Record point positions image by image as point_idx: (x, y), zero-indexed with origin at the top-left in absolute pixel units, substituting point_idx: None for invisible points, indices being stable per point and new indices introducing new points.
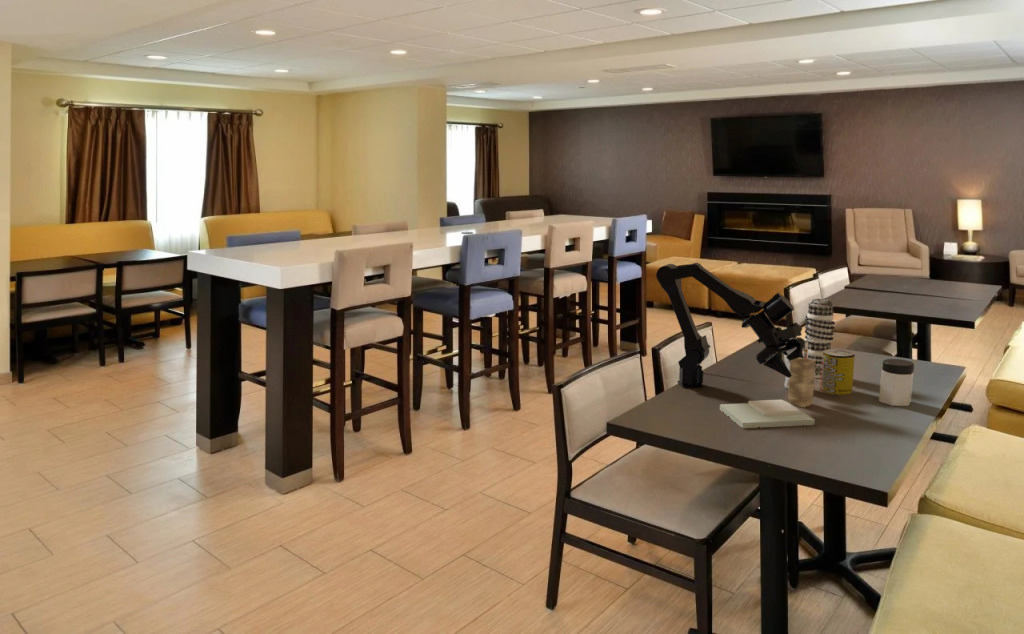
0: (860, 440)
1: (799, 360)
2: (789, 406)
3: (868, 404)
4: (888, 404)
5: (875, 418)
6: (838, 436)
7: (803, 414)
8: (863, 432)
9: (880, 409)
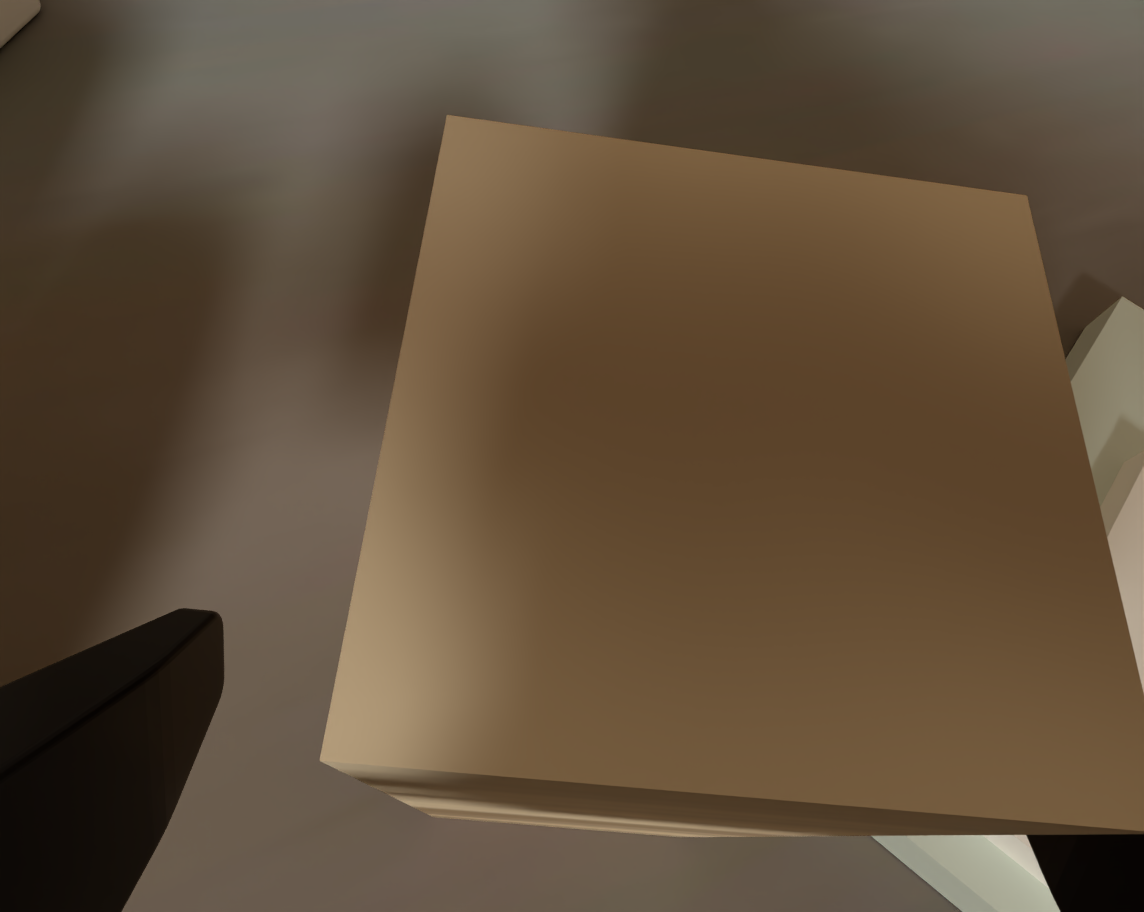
0: (1069, 34)
1: (868, 516)
2: (1136, 583)
3: (106, 154)
4: (13, 35)
5: (521, 46)
6: (1134, 138)
7: (1092, 420)
8: (909, 48)
9: (223, 59)
